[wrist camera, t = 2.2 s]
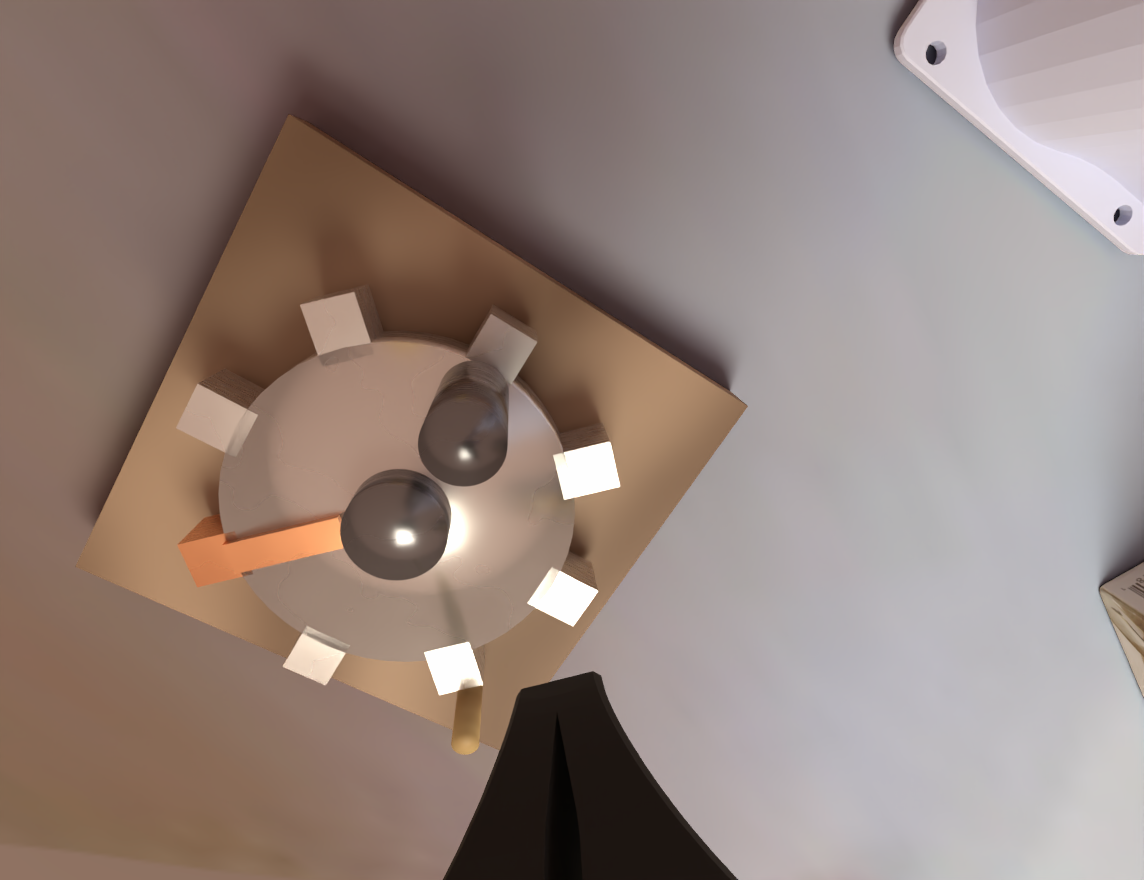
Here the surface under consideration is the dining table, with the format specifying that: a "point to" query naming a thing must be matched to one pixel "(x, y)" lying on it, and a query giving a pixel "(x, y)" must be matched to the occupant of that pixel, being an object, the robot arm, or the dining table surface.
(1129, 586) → the coffee box
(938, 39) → the robot arm
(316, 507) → the sprocket
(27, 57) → the dining table surface
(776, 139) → the dining table surface
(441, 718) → the index board
